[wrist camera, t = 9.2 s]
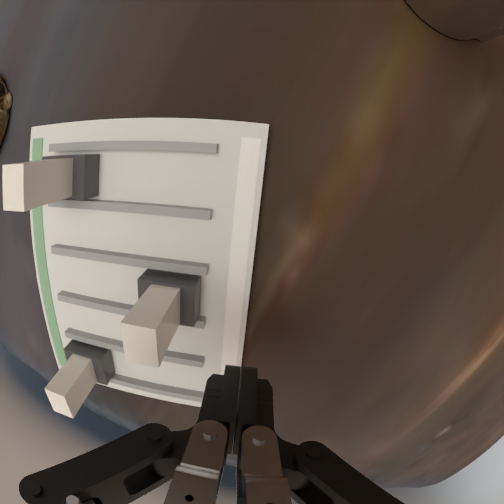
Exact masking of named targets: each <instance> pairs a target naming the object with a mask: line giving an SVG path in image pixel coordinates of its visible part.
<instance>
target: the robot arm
mask: <svg viewBox="0 0 504 504" xmlns="http://www.w3.org/2000/svg"><path fill="white" fill-rule="evenodd" d="M405 1H406V2H407V3H408V5H409V6H410V7H411V8H412V9H413V11H414V12H415V13H416V14H417V15H418V16H419V17H420V18H421V19H422V20H424V21H425V22H426V23H427V24H429V25H430V26H431V27H432V28H434V29H436V30H437V31H439V32H440V33H442V34H444V35H446V36H448V37H451V38H454V39H458V40H469V39H473V38H476V39H478V40H480V41H482V42H484V41H486V40H489V39H491V38H494V37H497V36H499V35H502V34H504V0H405ZM240 370H241V366H233V365H225V371H224V375H220V374H212V375H211V376H210V377H209V378H208V379H207V382H206V386H205V391H204V396H203V400H202V405H201V409H200V414H199V418H198V421H197V423H196V424H195V425H194V426H193V427H192V428H190V429H188V430H184V431H172V432H171V431H170V430H169V429H168V428H167V427H166V426H164V425H161V424H157V423H151V424H146V425H144V426H142V427H140V428H138V429H136V430H134V431H132V432H130V433H128V434H126V435H124V436H122V437H120V438H118V439H116V440H114V441H111V442H109V443H107V444H105V445H103V446H101V447H98V448H96V449H94V450H92V451H89V452H87V453H85V454H82V455H80V456H78V457H75V458H73V459H71V460H68V461H65V462H63V463H61V464H58V465H55V466H53V467H50V468H47V469H45V470H42V471H39V472H36V473H34V474H31V475H28V476H26V477H24V478H23V479H22V480H21V482H20V484H19V492H20V495H21V496H22V498H23V499H24V500H25V501H26V502H27V503H28V504H128V503H130V502H132V501H134V500H136V499H138V498H140V497H141V496H143V495H145V494H147V493H148V492H150V491H152V490H154V489H155V488H157V487H159V486H160V485H162V484H164V483H165V482H167V481H169V480H170V479H172V481H171V484H170V487H169V490H168V493H167V495H166V499H165V501H164V504H216V500H217V495H218V491H219V487H220V482H221V478H222V473H223V467H224V466H225V464H226V457H227V454H231V452H232V445H233V438H234V445H233V454H237V455H238V457H237V466H236V492H237V504H292V503H291V497H292V498H293V499H294V500H295V501H296V502H297V503H298V504H404V503H402V502H401V501H399V500H398V499H396V498H395V497H393V496H392V495H391V494H389V493H388V492H386V491H385V490H383V489H382V488H380V487H379V486H378V485H376V484H375V483H373V482H372V481H371V480H369V479H368V478H366V477H365V476H364V475H362V474H361V473H360V472H358V471H357V470H356V469H354V468H353V467H352V466H350V465H349V464H348V463H346V462H345V461H344V460H342V459H341V458H340V457H339V456H337V455H336V454H335V453H334V452H332V451H331V450H330V449H329V448H327V447H326V446H325V445H323V444H322V443H319V442H316V441H306V442H303V443H301V444H300V445H296V444H292V443H289V442H286V441H284V440H282V439H281V438H280V437H279V436H278V435H277V434H276V432H275V430H274V416H273V392H272V386H271V385H270V383H269V381H268V380H265V379H257V373H258V369H257V368H251V367H242V370H241V377H240ZM239 381H240V384H239ZM234 432H235V434H234Z"/></svg>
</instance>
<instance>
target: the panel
mask: <svg viewBox="0 0 504 504" xmlns="http://www.w3.org/2000/svg"><path fill="white" fill-rule="evenodd" d="M268 130H269V124H262V123H253V122H242V121H230V120H215V119H194V118H123V119H103V120H89V121H78V122H67V123H59V124H50V125H43V126H36V127H32V129H31V141H30V161H37V160H42V157H44V156H55V155H76V154H100V159H99V183H98V196H96V197H92V198H89V199H86V200H71V199H63V200H59V201H56V202H53V203H49V204H46V205H43V206H40V207H37V208H34V209H31V210H30V219H31V233H32V243H33V252H34V260H35V267H36V274H37V280H38V286H39V292H40V297H41V302H42V307H43V311H44V316H45V320H46V324H47V328H48V332H49V336H50V340H51V344H52V347H53V351H54V354H55V358H56V361H57V364H58V367H59V370H60V368H61V367H62V366H63V365H64V364H65V362H66V361H67V359H66V356H65V352H64V348H65V347H66V346H67V345H68V343H69V342H70V341H71V340H72V339H73V340H77V341H80V342H84V343H87V344H91V345H95V346H99V347H102V348H106V349H110V350H111V353H112V359H113V364H114V369H115V373H114V375H113V376H112V378H111V380H110V381H109V383H108V385H105V386H108V387H112V388H115V389H119V390H123V391H126V392H130V393H134V394H138V395H143V396H147V397H151V398H156V399H160V400H165V401H170V402H175V403H181V404H186V405H192V406H198V407H201V405H202V400H203V396H204V391H205V386H206V382H207V379H208V378H209V377H210V376H211V375H212V374H220V375H224V371H225V365H233V366H241V363H242V355H243V346H244V338H245V329H246V321H247V312H248V304H249V295H250V286H251V278H252V269H253V261H254V252H255V243H256V235H257V226H258V218H259V209H260V200H261V191H262V183H263V174H264V165H265V157H266V148H267V139H268ZM147 268H148V269H155V270H163V271H170V272H177V273H185V274H193V275H201V295H200V314H199V316H198V319H197V321H196V324H195V327H190V326H184V325H179V326H178V328H177V330H176V332H175V334H174V336H173V339H172V341H171V343H170V345H169V347H168V349H167V351H166V354H165V356H164V358H163V360H162V362H161V365H160V367H159V368H155V367H150V366H145V365H140V364H136V363H132V362H127V361H126V360H125V354H124V347H123V340H122V332H121V324H120V322H121V321H122V320H123V319H124V317H125V316H126V315H127V313H128V312H129V311H130V310H131V308H132V307H133V306H134V305H135V303H136V302H137V301H138V284H137V279H138V278H139V277H140V276H141V275H142V274H143V273H144V272H145V271H146V270H147ZM240 371H241V370H240ZM96 383H97V382H96ZM98 384H100V383H98ZM101 385H104V384H101Z"/></svg>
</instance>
